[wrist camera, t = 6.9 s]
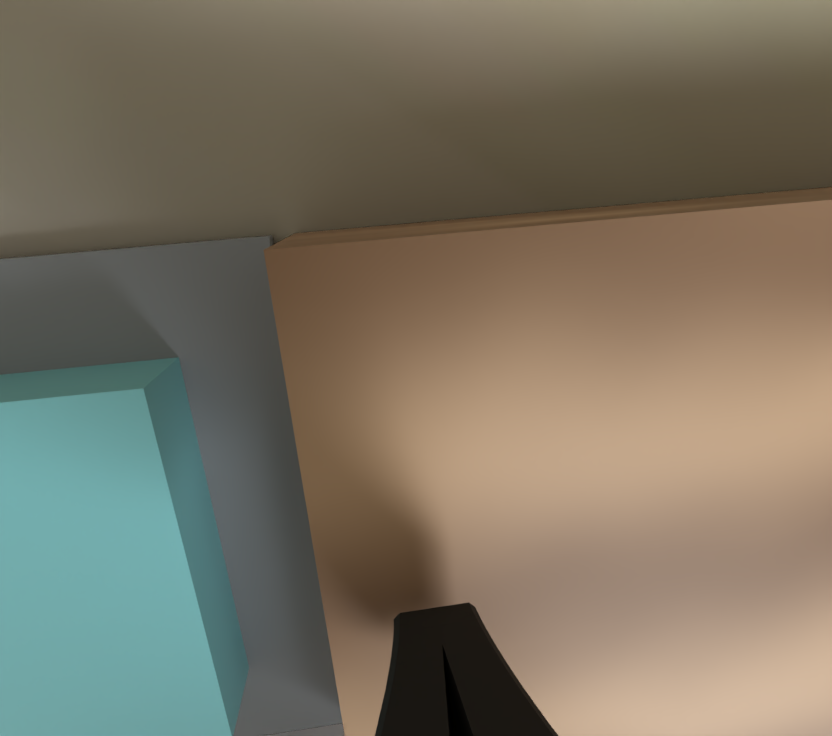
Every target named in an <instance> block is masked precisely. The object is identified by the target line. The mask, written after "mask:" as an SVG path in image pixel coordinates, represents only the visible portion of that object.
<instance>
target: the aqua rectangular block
mask: <svg viewBox="0 0 832 736" xmlns="http://www.w3.org/2000/svg"><path fill="white" fill-rule="evenodd" d="M248 670H249V665H248V661H247V656H246V652H245V647H244V643H243V639H242V634H241V630H240V625H239V621H238V617H237V612H236V608H235V603H234V599H233V595H232V590H231V586H230V581H229V577H228V572H227V568H226V564H225V559H224V555H223V550H222V546H221V542H220V537H219V533H218V528H217V524H216V520H215V515H214V511H213V506H212V502H211V498H210V493H209V489H208V484H207V480H206V476H205V471H204V467H203V462H202V458H201V454H200V449H199V445H198V440H197V436H196V431H195V427H194V423H193V418H192V414H191V409H190V405H189V401H188V396H187V392H186V387H185V383H184V379H183V374H182V370H181V365H180V361H179V357H177V358H167V359H157V360H146V361H136V362H126V363H115V364H105V365H95V366H85V367H74V368H64V369H54V370H43V371H33V372H23V373H13V374H2V375H0V736H233V734H234V730H235V726H236V722H237V717H238V713H239V709H240V704H241V700H242V696H243V692H244V687H245V683H246V679H247V675H248Z"/></svg>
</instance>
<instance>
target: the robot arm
mask: <svg viewBox="0 0 832 736" xmlns="http://www.w3.org/2000/svg"><path fill="white" fill-rule="evenodd" d="M375 736H558V734H557V733H556V732H555V730H554V729H553V728H552V726H551V725H550V724H549V722H548V721H547V720H546V718H545V717H544V716H543V714H542V713H541V711H540V710H539V709H538V707H537V706H536V704H535V703H534V702H533V700H532V699H531V697H530V696H529V695H528V693H527V692H526V690H525V689H524V688H523V686H522V685H521V683H520V682H519V680H518V679H517V677H516V676H515V674H514V673H513V671H512V670H511V668H510V667H509V665H508V664H507V662H506V660H505V659H504V657H503V656H502V654H501V653H500V651H499V649H498V648H497V646H496V644H495V643H494V641H493V639H492V638H491V636H490V634H489V633H488V631H487V629H486V627H485V625H484V623H483V622H482V620H481V618H480V616H479V614H478V612H477V610H476V607H475V606H473V605H472V604H470V603H469V602H468V603H462V604H455V605H449V606H442V607H435V608H429V609H422V610H415V611H409V612H402V613H399V614H398V615H397V616H396V617H395V618H394V633H393V645H392V654H391V661H390V667H389V672H388V678H387V684H386V689H385V694H384V698H383V702H382V707H381V711H380V715H379V720H378V724H377V729H376V733H375Z"/></svg>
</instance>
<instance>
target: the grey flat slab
mask: <svg viewBox="0 0 832 736" xmlns="http://www.w3.org/2000/svg"><path fill="white" fill-rule="evenodd" d="M272 245H274V244H273V238H272V235H269V236H258V237H246V238H234V239H223V240H211V241H200V242H188V243H176V244H165V245H153V246H142V247H130V248H119V249H107V250H95V251H84V252H72V253H61V254H49V255H37V256H26V257H14V258H3V259H0V375H2V374H13V373H23V372H33V371H43V370H54V369H64V368H74V367H85V366H95V365H105V364H115V363H126V362H136V361H146V360H157V359H167V358H177V357H179V361H180V365H181V370H182V374H183V379H184V383H185V387H186V392H187V396H188V401H189V405H190V409H191V414H192V418H193V423H194V427H195V431H196V436H197V440H198V445H199V449H200V454H201V458H202V462H203V467H204V471H205V476H206V480H207V484H208V489H209V493H210V498H211V502H212V506H213V511H214V515H215V520H216V524H217V528H218V533H219V537H220V542H221V546H222V550H223V555H224V559H225V564H226V568H227V572H228V577H229V581H230V586H231V590H232V595H233V599H234V603H235V608H236V612H237V617H238V621H239V625H240V630H241V634H242V639H243V643H244V647H245V652H246V656H247V661H248V665H249V670H248V675H247V679H246V683H245V687H244V692H243V696H242V700H241V704H240V709H239V713H238V717H237V722H236V726H235V730H234V734H233V736H265V735H271V734H277V733H284V732H290V731H296V730H303V729H309V728H315V727H322V726H328V725H334V724H341V723H343V722H342V716H341V710H340V704H339V698H338V692H337V686H336V680H335V674H334V668H333V662H332V656H331V650H330V644H329V638H328V632H327V626H326V620H325V614H324V608H323V602H322V596H321V591H320V585H319V579H318V573H317V567H316V561H315V555H314V549H313V543H312V537H311V531H310V525H309V519H308V513H307V507H306V501H305V495H304V489H303V483H302V477H301V471H300V465H299V459H298V453H297V447H296V441H295V435H294V429H293V423H292V417H291V411H290V405H289V399H288V393H287V387H286V382H285V376H284V370H283V364H282V358H281V352H280V346H279V340H278V334H277V328H276V322H275V316H274V310H273V304H272V298H271V292H270V286H269V280H268V274H267V268H266V262H265V256H264V249H266V248H268V247H270V246H272Z"/></svg>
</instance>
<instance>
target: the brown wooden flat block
mask: <svg viewBox="0 0 832 736" xmlns="http://www.w3.org/2000/svg"><path fill="white" fill-rule="evenodd" d="M264 256H265V262H266V268H267V274H268V280H269V286H270V292H271V298H272V304H273V310H274V316H275V322H276V328H277V334H278V340H279V346H280V352H281V358H282V364H283V370H284V376H285V382H286V387H287V393H288V399H289V405H290V411H291V417H292V423H293V429H294V435H295V441H296V447H297V453H298V459H299V465H300V471H301V477H302V483H303V489H304V495H305V501H306V507H307V513H308V519H309V525H310V531H311V537H312V543H313V549H314V555H315V561H316V567H317V573H318V579H319V585H320V591H321V596H322V602H323V608H324V614H325V620H326V626H327V632H328V638H329V644H330V650H331V656H332V662H333V668H334V674H335V680H336V686H337V692H338V698H339V704H340V710H341V716H342V722H343V728H344V734H345V736H375V733H376V729H377V724H378V720H379V715H380V711H381V707H382V702H383V698H384V694H385V689H386V684H387V678H388V672H389V667H390V661H391V654H392V645H393V633H394V618H395V617H396V616H397V615H398V614H399V613H402V612H409V611H415V610H422V609H429V608H435V607H442V606H449V605H455V604H462V603H468V602H469V603H470V604H472V605H473V606H475V607H476V610H477V612H478V614H479V616H480V618H481V620H482V622H483V623H484V625H485V627H486V629H487V631H488V633H489V634H490V636H491V638H492V639H493V641H494V643H495V644H496V646H497V648H498V649H499V651H500V653H501V654H502V656H503V657H504V659H505V660H506V662H507V664H508V665H509V667H510V668H511V670H512V671H513V673H514V674H515V676H516V677H517V679H518V680H519V682H520V683H521V685H522V686H523V688H524V689H525V690H526V692H527V693H528V695H529V696H530V697H531V699H532V700H533V702H534V703H535V704H536V706H537V707H538V709H539V710H540V711H541V713H542V714H543V716H544V717H545V718H546V720H547V721H548V722H549V724H550V725H551V726H552V728H553V729H554V730H555V732H556V733H557V734H558V736H832V187H825V188H814V189H802V190H791V191H779V192H767V193H756V194H744V195H733V196H721V197H709V198H698V199H686V200H675V201H663V202H652V203H640V204H628V205H617V206H605V207H594V208H582V209H570V210H559V211H547V212H536V213H524V214H513V215H501V216H489V217H478V218H466V219H455V220H443V221H431V222H420V223H408V224H397V225H385V226H373V227H362V228H350V229H339V230H327V231H316V232H304V233H295V234H293V235H291V236H289V237H287V238H285V239H283V240H281V241H280V242H278V243H276V244H274V245H272V246H270V247H268V248H266V249H264Z"/></svg>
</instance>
